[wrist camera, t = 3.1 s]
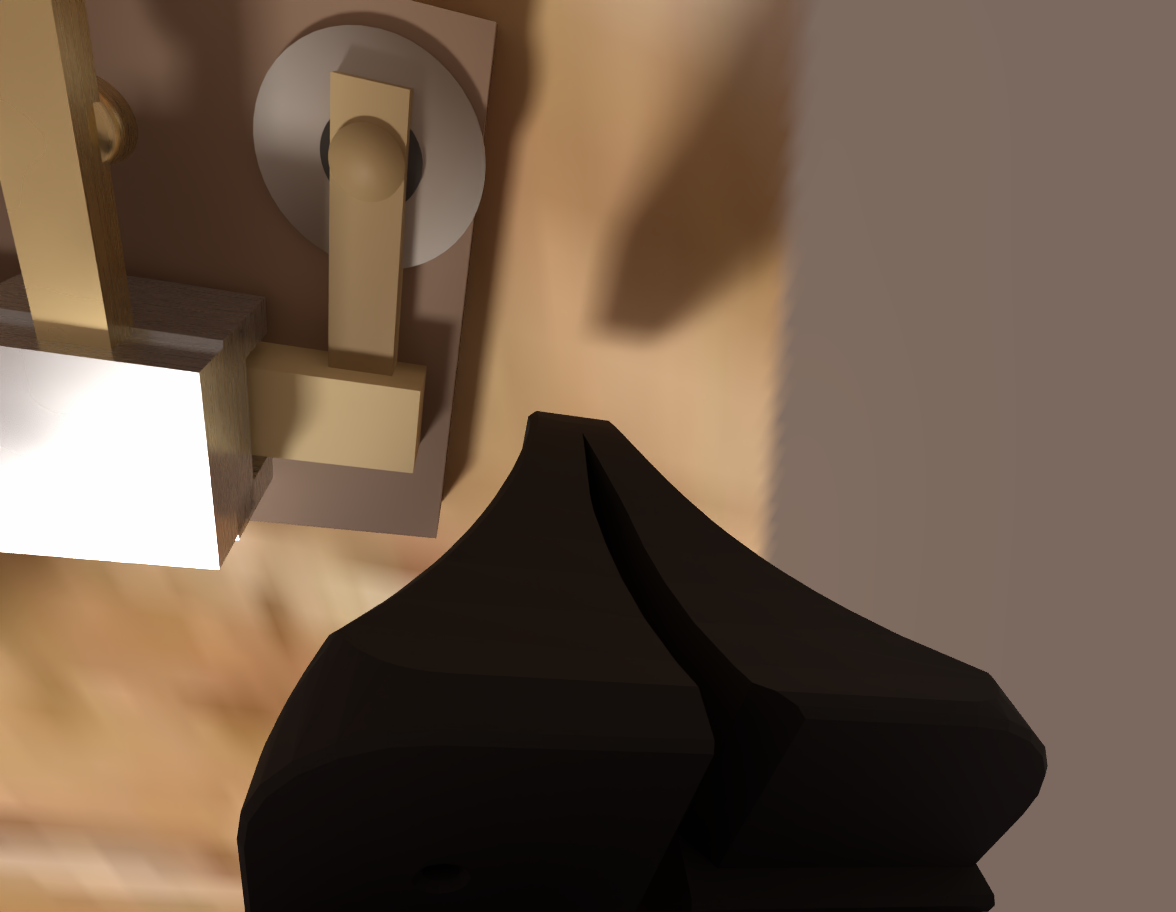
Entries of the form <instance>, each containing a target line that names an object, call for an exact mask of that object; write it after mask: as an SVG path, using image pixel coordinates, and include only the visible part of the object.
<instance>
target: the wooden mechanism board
mask: <svg viewBox="0 0 1176 912" xmlns="http://www.w3.org/2000/svg"><path fill="white" fill-rule="evenodd" d="M85 5H86V12H87V18H88V25H89V32H90V38H91V45H92V51H93V58H94V65H95V71H96V76H98V77H100V78H102V79H104V80H105V81H107V82H108V83H110V84H111V85H112V86H113V87H115V88H116V89H117V90H118V91H119V92H120V93H121V95H122V96H123V97H124V98H125V99H126V101H127V102H128V104H129V105H130V107H131V109H132V111H133V113H134V115H135V118H136V121H137V126H138V142H137V146H136V148H135V150H134V152H133V153H132V155H131V156H130V157H129V158H127V159H126V160H125V161H123V162H121V163H118V164H114V165H111V166H110V170H111V177H112V183H113V190H114V196H115V203H116V210H117V216H118V223H119V229H120V236H121V243H122V249H123V256H124V262H125V269H126V275H131V276H137V277H143V278H149V279H156V280H162V281H168V282H175V283H181V284H187V285H193V286H200V287H206V288H212V289H218V290H225V291H231V292H237V293H244V294H250V295H256V296H262V297H265V298H266V321H267V334H266V335H265V336H264V337H263V338H262V340H261V341H260V342H259V343H258V344H257V345H256V347H255V348H254V349H253V350H252V351H251V352H250V354H249V355H248V356H247V357H246V369H247V385H248V401H249V418H250V434H251V450H252V455H256V456H265V457H272V461H273V478H272V480H271V482H270V484H269V486H268V488H267V489H266V491H265V493H264V495H263V497H262V498H261V500H260V502H259V504H258V506H257V508H256V509H255V511H254V513H253V515H252V517H251V519H250V521H260V522H271V523H281V524H292V525H302V526H313V527H323V528H334V529H345V530H355V531H366V532H376V533H387V534H397V535H408V536H418V537H429V538H436V537H437V530H438V523H439V516H440V509H441V502H442V493H443V485H444V476H445V468H446V459H447V451H448V442H449V434H450V425H451V417H452V408H453V399H454V391H455V382H456V374H457V365H458V357H459V348H460V340H461V331H462V323H463V314H464V306H465V297H466V289H467V280H468V272H469V263H470V255H471V246H472V238H473V229H474V220H475V213H476V211H477V209H478V206H479V203H480V200H481V197H482V192H483V187H484V182H485V169H486V160H485V147H484V135H485V127H486V118H487V110H488V101H489V93H490V84H491V76H492V67H493V58H494V50H495V41H496V33H497V22H494V21H490V20H486V19H483V18H479V17H475V16H471V15H467V14H463V13H459V12H455V11H451V10H447V9H443V8H439V7H435V6H432V5H428V4H424V3H420V2H416V1H412V0H85ZM21 273H22V272H21V268H20V263H19V259H18V255H17V250H16V246H15V242H14V238H13V233H12V229H11V225H10V220H9V216H8V212H7V208H6V203H5V199H4V195H3V190H2V186H1V182H0V283H1V282H3V281H6V280H8V279H10V278H12V277H14V276H16V275H19V274H21Z"/></svg>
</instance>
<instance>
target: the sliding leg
mask: <svg viewBox="0 0 1176 912" xmlns="http://www.w3.org/2000/svg"><path fill="white" fill-rule="evenodd" d="M137 142H138V126H137V121H136V118H135V115H134V113H133V111H132V109H131V107H130V105H129V104H128V102H127V101H126V99H125V98H124V97H123V96H122V95H121V93H120V92H119V91H118V90H117V89H116V88H115V87H113V86H112V85H111V84H110V83H108V82H107V81H105V80H104V79H102V78H100V77H98V76H96V71H95V65H94V58H93V51H92V45H91V38H90V32H89V25H88V18H87V12H86V5H85V0H0V182H1V186H2V190H3V195H4V199H5V203H6V208H7V212H8V216H9V220H10V225H11V229H12V233H13V238H14V242H15V246H16V250H17V255H18V259H19V263H20V268H21V272H22V273H21V274H19V275H16V276H14V277H12V278H10V279H8V280H6V281H3V282H1V283H0V552H8V553H20V554H33V555H45V556H58V557H70V558H82V559H95V560H107V561H120V562H132V563H145V564H157V565H170V566H182V567H195V568H207V569H220V567H221V566H222V564H223V562H224V560H225V558H226V556H227V555H228V553H229V551H230V549H231V547H232V546H233V544H234V542H235V540H239V539H240V537H241V535H242V533H243V531H244V530H245V528H246V526H247V524H248V522H249V520H250V519H251V517H252V515H253V513H254V511H255V509H256V508H257V506H258V504H259V502H260V500H261V498H262V497H263V495H264V493H265V491H266V489H267V488H268V486H269V484H270V482H271V480H272V478H273V461H272V457H265V456H256V455H252V450H251V434H250V418H249V401H248V385H247V369H246V357H247V356H248V355H249V354H250V352H251V351H252V350H253V349H254V348H255V347H256V345H257V344H258V343H259V342H260V341H261V340H262V338H263V337H264V336H265V335H266V334H267V321H266V298H265V297H262V296H256V295H250V294H244V293H237V292H231V291H225V290H218V289H212V288H206V287H200V286H193V285H187V284H181V283H175V282H168V281H162V280H156V279H149V278H143V277H137V276H131V275H126V269H125V262H124V256H123V249H122V243H121V236H120V229H119V223H118V216H117V210H116V203H115V196H114V190H113V183H112V177H111V170H110V166H111V165H114V164H118V163H121V162H123V161H125V160H126V159H127V158H129V157H130V156H131V155H132V153H133V152H134V150H135V148H136V146H137Z"/></svg>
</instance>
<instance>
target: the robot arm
mask: <svg viewBox="0 0 1176 912" xmlns="http://www.w3.org/2000/svg"><path fill="white" fill-rule="evenodd" d="M1046 770H1047V759H1046V750H1045V746H1044V745H1043V744H1042V742H1041V741H1040V740H1039V738H1038V737H1037V736H1036V734H1035V733H1034V732H1033V731H1032V729H1031V728H1030V726H1029V725H1028V724H1027V722H1026V721H1025V720H1024V719H1023V717H1022V716H1021V714H1020V713H1019V712H1018V711H1017V709H1016V708H1015V706H1014V705H1013V704H1012V703H1011V701H1010V700H1009V699H1008V697H1007V696H1006V695H1005V693H1004V692H1003V691H1002V689H1001V688H1000V687H999V685H998V684H997V683H996V681H995V680H994V679H993V678H992V676H991V675H989V673H987V672H985V671H982V670H980V669H978V668H975V667H973V666H971V665H968V664H966V663H964V662H961V661H959V660H956V659H954V658H952V657H949V656H947V655H945V654H942V653H940V652H938V651H936V650H933V649H931V648H929V647H926V646H924V645H921V644H919V643H917V642H914V641H912V640H910V639H907V638H905V637H903V636H900V635H898V634H896V633H894V632H892V631H890V630H888V629H886V628H884V627H882V626H880V625H878V624H876V623H874V622H872V621H870V620H868V619H866V618H864V617H862V616H860V615H858V614H856V613H854V612H852V611H850V610H848V609H846V608H844V607H843V606H841V605H839V604H837V603H835V602H833V601H832V600H830V599H828V598H826V597H824V596H823V595H821V594H819V593H817V592H816V591H814V590H812V589H811V588H809V587H807V586H806V585H804V584H802V583H801V582H799V581H797V580H796V579H794V578H793V577H791V576H789V575H787V574H786V573H784V572H783V571H781V570H779V569H778V568H776V567H775V566H773V565H772V564H770V563H769V562H767V561H766V560H764V559H763V558H761V557H760V556H758V555H757V554H756V553H754V552H753V551H751V550H750V549H749V548H747V547H746V546H745V545H743V544H742V543H741V542H739V541H738V540H736V539H735V538H734V537H732V536H731V535H730V534H728V533H727V532H726V531H724V530H723V529H722V528H721V527H719V526H718V525H717V524H716V523H714V522H713V521H712V520H711V519H710V518H708V517H707V516H706V515H705V514H704V513H703V512H702V511H700V510H699V509H698V508H697V507H696V506H695V505H694V504H692V503H691V502H690V501H689V500H688V499H687V498H686V497H684V496H683V495H682V494H681V493H680V492H679V491H678V490H677V489H676V488H675V487H674V486H673V485H672V484H671V483H670V482H669V481H668V480H667V479H666V478H665V477H664V476H663V475H662V474H661V473H660V472H659V471H658V470H657V469H656V468H655V467H654V466H653V465H652V464H651V463H650V462H649V461H648V460H647V459H646V458H645V457H644V456H643V455H642V454H641V453H640V452H639V451H638V450H637V449H636V448H635V447H634V446H633V445H632V443H631V442H630V441H629V440H628V439H627V438H626V437H625V436H624V435H623V434H622V433H621V432H620V431H619V430H618V429H617V428H616V427H615V426H614V425H613V424H612V423H610V422H609V421H605V420H598V419H591V418H583V417H576V416H569V415H562V414H554V413H547V412H540V411H536V412H534V413H533V414H531V415H530V416H528V421H527V426H526V432H525V437H524V442H523V448H522V451H521V453H520V455H519V457H518V459H517V461H516V463H515V465H514V467H513V469H512V471H511V473H510V474H509V476H508V477H507V479H506V481H505V482H504V484H503V485H502V487H501V488H500V490H499V492H498V493H497V495H496V496H495V498H494V499H493V500H492V502H491V503H490V504H489V506H488V507H487V508H486V510H485V511H484V512H483V513H482V515H481V516H480V517H479V518H478V519H477V520H476V522H475V523H474V524H473V525H472V526H471V527H470V529H469V530H468V531H467V532H466V533H465V534H464V535H463V536H462V537H461V538H460V539H459V540H458V541H457V542H456V543H455V544H454V545H453V546H452V547H451V548H450V549H449V550H448V551H447V552H446V553H445V554H444V555H443V556H442V557H441V558H439V559H438V560H437V561H436V562H435V563H434V564H433V565H431V566H430V567H429V568H427V569H426V570H425V571H424V572H422V573H421V574H420V575H419V576H417V577H416V578H415V579H414V580H412V581H411V582H410V583H408V584H407V585H406V586H405V587H403V588H402V589H401V590H400V591H398V592H397V593H396V594H394V595H393V596H391V597H390V598H388V599H387V600H386V601H384V602H383V603H381V604H379V605H378V606H376V607H374V608H373V609H371V610H370V611H368V612H366V613H365V614H363V615H362V616H360V617H358V618H357V619H355V620H354V621H352V622H350V623H349V624H347V625H346V626H344V627H342V628H341V629H339V630H337V631H335V632H334V633H332V634H330V635H329V636H328V638H327V639H326V640H325V642H324V643H323V645H322V646H321V648H320V649H319V651H318V652H317V654H316V655H315V657H314V658H313V660H312V661H311V663H310V664H309V666H308V667H307V669H306V670H305V672H304V673H303V675H302V677H301V678H300V680H299V682H298V683H297V685H296V687H295V688H294V690H293V692H292V693H291V695H290V697H289V698H288V700H287V702H286V704H285V706H284V708H283V709H282V711H281V713H280V715H279V717H278V719H277V721H276V723H275V725H274V727H273V729H272V731H271V733H270V735H269V737H268V739H267V741H266V743H265V746H264V748H263V751H262V753H261V756H260V758H259V761H258V764H257V767H256V770H255V773H254V775H253V778H252V781H251V784H250V787H249V790H248V793H247V796H246V799H245V801H244V804H243V807H242V810H241V814H240V821H239V828H238V835H237V845H238V853H239V862H240V871H241V879H242V888H243V896H244V905H245V912H988V911H989V910H990V909H991V908H992V907H993V906H994V905H995V902H994V894H993V892H992V890H991V889H990V887H989V885H988V884H987V882H986V880H985V878H984V876H983V875H982V873H981V871H980V870H979V868H978V866H977V864H976V863H977V862H978V861H979V860H980V858H981V857H982V856H983V855H984V854H985V853H986V852H987V851H988V850H989V849H990V848H991V847H992V846H993V845H994V844H995V843H996V842H997V841H998V840H999V839H1000V838H1001V837H1002V836H1003V835H1004V834H1005V832H1007V831H1008V829H1009V828H1010V827H1011V826H1012V825H1013V824H1014V823H1015V822H1016V821H1017V820H1018V819H1019V818H1020V817H1021V816H1022V815H1023V814H1024V812H1025V811H1026V810H1027V809H1028V807H1029V806H1030V805H1031V803H1032V802H1033V801H1034V799H1035V798H1036V797H1037V796H1038V794H1039V791H1040V788H1041V785H1042V782H1043V780H1044V777H1045V774H1046Z"/></svg>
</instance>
